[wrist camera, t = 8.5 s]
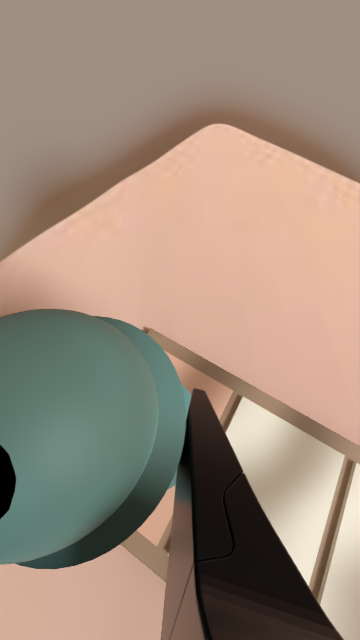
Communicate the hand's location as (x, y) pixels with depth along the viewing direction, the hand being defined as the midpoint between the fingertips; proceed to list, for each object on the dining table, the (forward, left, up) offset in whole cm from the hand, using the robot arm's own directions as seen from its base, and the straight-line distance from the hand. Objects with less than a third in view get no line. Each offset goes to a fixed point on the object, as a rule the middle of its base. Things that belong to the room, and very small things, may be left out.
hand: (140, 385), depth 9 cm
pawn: (-1, -1, -6) cm, 6 cm away
